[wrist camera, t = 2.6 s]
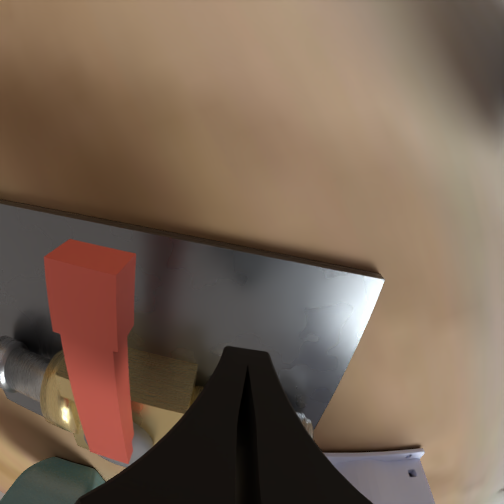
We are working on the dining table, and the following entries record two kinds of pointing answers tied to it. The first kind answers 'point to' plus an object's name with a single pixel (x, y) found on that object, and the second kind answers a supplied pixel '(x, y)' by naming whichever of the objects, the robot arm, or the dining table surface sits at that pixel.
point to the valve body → (179, 317)
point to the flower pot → (52, 483)
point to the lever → (97, 342)
